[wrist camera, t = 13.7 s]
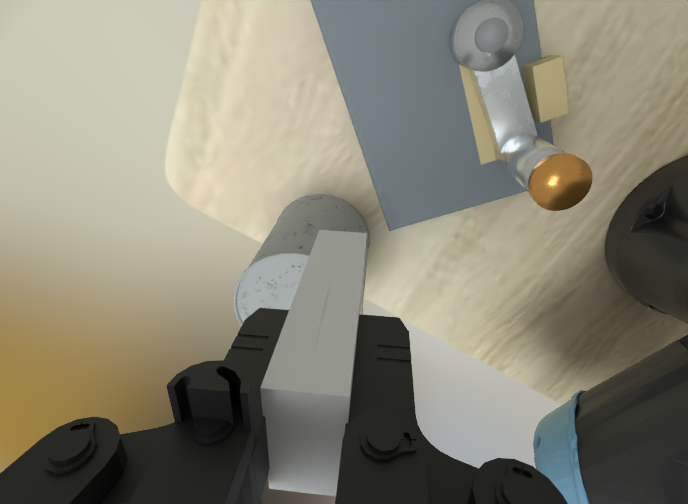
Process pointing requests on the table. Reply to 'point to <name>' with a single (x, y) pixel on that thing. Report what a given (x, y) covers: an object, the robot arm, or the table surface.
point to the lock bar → (516, 111)
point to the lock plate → (430, 101)
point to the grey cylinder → (291, 252)
